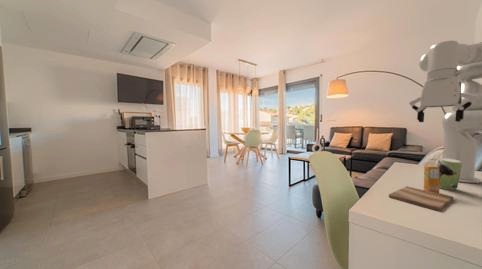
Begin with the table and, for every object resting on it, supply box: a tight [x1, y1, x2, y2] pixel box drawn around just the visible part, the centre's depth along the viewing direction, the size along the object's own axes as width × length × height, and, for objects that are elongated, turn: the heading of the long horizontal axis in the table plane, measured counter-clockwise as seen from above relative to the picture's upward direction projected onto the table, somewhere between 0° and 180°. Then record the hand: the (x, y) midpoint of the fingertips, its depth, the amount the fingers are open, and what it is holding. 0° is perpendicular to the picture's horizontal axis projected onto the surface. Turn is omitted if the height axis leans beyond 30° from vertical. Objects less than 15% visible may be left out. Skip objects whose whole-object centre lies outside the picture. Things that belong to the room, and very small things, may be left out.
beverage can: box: [437, 157, 462, 191], centre depth 71 cm, size 6×7×12 cm
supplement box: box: [423, 164, 440, 194], centre depth 67 cm, size 3×3×10 cm
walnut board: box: [388, 186, 454, 212], centre depth 62 cm, size 16×12×1 cm
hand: (438, 121), depth 68 cm, fingers open, 9 cm apart
